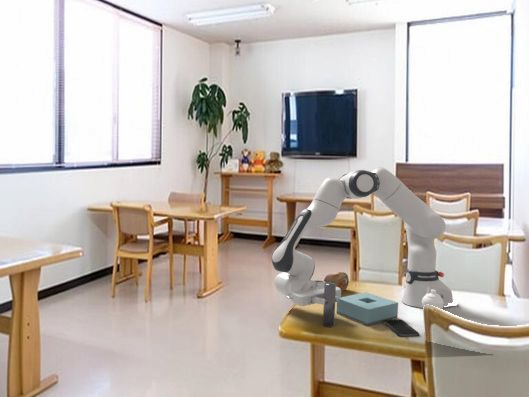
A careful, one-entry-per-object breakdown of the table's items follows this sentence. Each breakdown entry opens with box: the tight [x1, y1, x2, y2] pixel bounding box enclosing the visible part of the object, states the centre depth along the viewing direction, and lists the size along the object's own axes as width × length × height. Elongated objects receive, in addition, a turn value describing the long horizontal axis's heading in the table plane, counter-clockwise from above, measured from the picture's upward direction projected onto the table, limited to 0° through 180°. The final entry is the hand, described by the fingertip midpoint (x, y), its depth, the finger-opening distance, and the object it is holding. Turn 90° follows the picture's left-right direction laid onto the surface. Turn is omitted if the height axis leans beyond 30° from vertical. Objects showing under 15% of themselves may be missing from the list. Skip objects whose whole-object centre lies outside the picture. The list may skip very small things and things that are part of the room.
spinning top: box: [422, 290, 444, 309], centre depth 184 cm, size 8×8×12 cm
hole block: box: [336, 291, 399, 327], centre depth 189 cm, size 16×16×6 cm
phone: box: [382, 319, 420, 338], centre depth 176 cm, size 8×1×15 cm
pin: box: [322, 282, 336, 328], centre depth 177 cm, size 4×4×15 cm
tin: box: [323, 271, 350, 292], centre depth 222 cm, size 15×3×8 cm, turn 132°
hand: (331, 301), depth 177 cm, fingers open, 4 cm apart
